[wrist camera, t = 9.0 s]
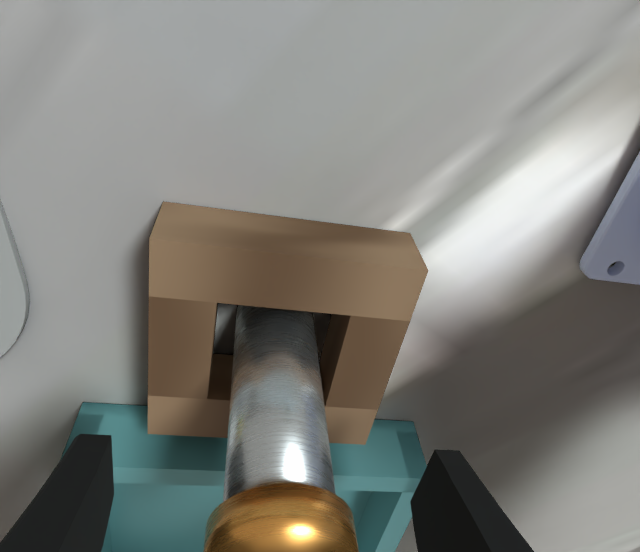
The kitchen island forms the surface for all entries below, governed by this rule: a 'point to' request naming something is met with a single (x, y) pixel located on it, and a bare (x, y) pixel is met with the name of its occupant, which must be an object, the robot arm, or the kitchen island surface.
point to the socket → (273, 292)
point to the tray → (209, 474)
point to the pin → (278, 445)
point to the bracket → (11, 288)
